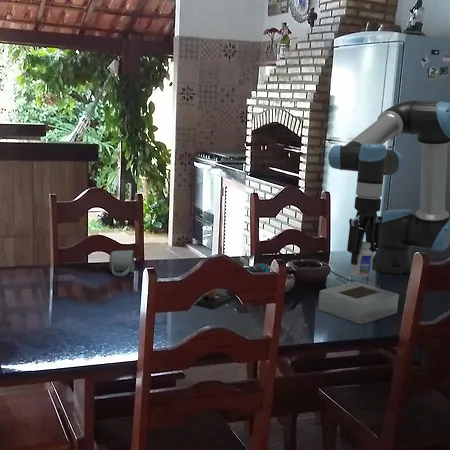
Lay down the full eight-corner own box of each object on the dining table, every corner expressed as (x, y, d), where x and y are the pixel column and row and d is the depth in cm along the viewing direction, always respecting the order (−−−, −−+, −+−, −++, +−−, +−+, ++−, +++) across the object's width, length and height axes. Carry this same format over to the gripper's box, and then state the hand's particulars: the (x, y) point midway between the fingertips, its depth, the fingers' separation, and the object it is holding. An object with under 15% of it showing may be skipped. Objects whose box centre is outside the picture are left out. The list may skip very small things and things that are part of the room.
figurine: (231, 301, 198) (233, 264, 196) (213, 309, 190) (214, 270, 187) (204, 295, 203) (206, 258, 201) (185, 302, 195) (187, 264, 193)
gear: (284, 286, 211) (264, 264, 210) (271, 298, 211) (251, 276, 210) (281, 281, 222) (261, 260, 221) (268, 293, 222) (249, 272, 221)
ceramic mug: (111, 268, 228) (111, 247, 227) (134, 268, 229) (134, 248, 227) (107, 277, 218) (107, 255, 216) (131, 277, 218) (132, 256, 217)
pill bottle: (351, 275, 190) (354, 243, 188) (350, 271, 195) (353, 240, 194) (370, 277, 189) (373, 245, 188) (369, 272, 195) (372, 241, 193)
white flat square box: (354, 299, 207) (355, 281, 205) (396, 312, 195) (398, 294, 194) (318, 309, 195) (319, 290, 193) (361, 324, 183) (363, 304, 182)
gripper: (375, 193, 197) (368, 266, 201) (338, 196, 184) (331, 274, 189) (397, 196, 191) (388, 272, 196) (360, 200, 179) (352, 280, 183)
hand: (360, 273), depth 192 cm, fingers closed on pill bottle, 5 cm apart
